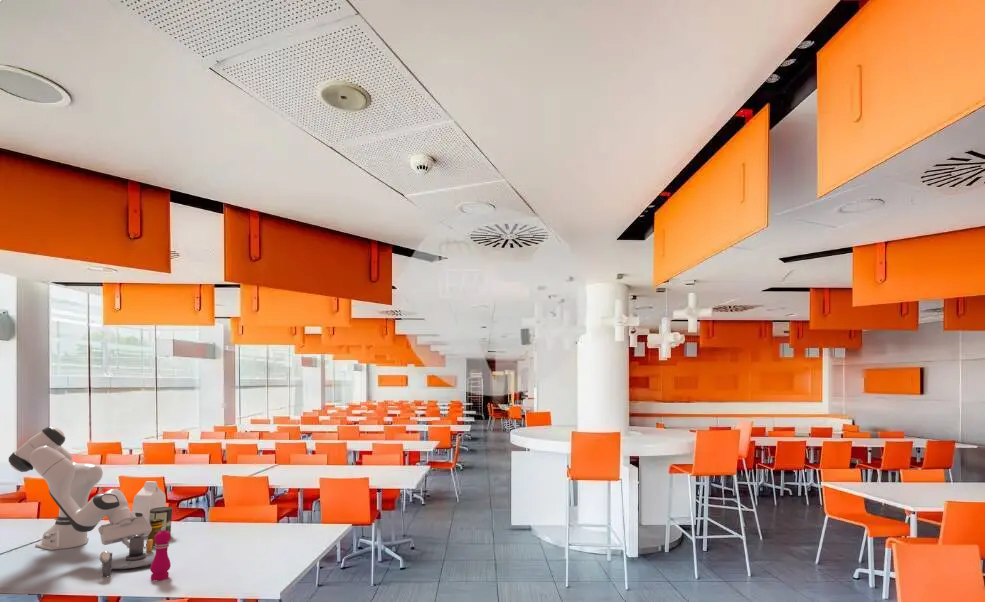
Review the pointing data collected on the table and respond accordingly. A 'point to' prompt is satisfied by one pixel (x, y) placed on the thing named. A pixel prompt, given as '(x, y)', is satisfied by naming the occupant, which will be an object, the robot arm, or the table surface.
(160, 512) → the coffee can
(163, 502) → the milk
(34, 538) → the table surface
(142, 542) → the urn
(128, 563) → the turntable
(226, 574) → the table surface
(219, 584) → the table surface
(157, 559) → the pepper mill
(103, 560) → the grey bar with dome
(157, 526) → the condiment
